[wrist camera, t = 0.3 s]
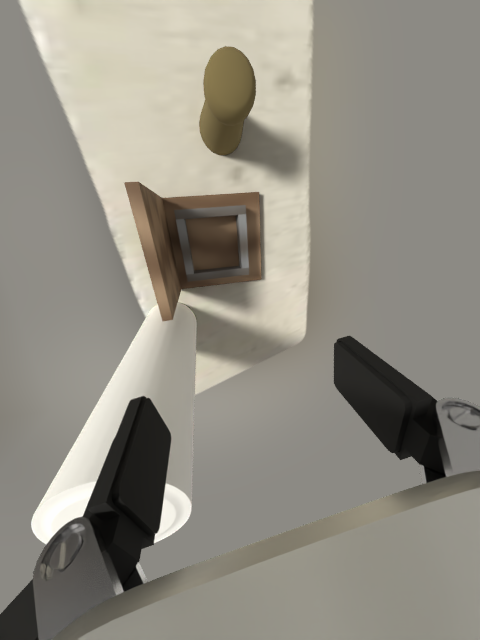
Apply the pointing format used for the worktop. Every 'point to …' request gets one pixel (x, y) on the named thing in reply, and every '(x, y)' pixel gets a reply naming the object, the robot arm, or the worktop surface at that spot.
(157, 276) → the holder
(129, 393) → the cylinder container
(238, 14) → the worktop surface
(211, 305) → the worktop surface
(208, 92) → the cork
